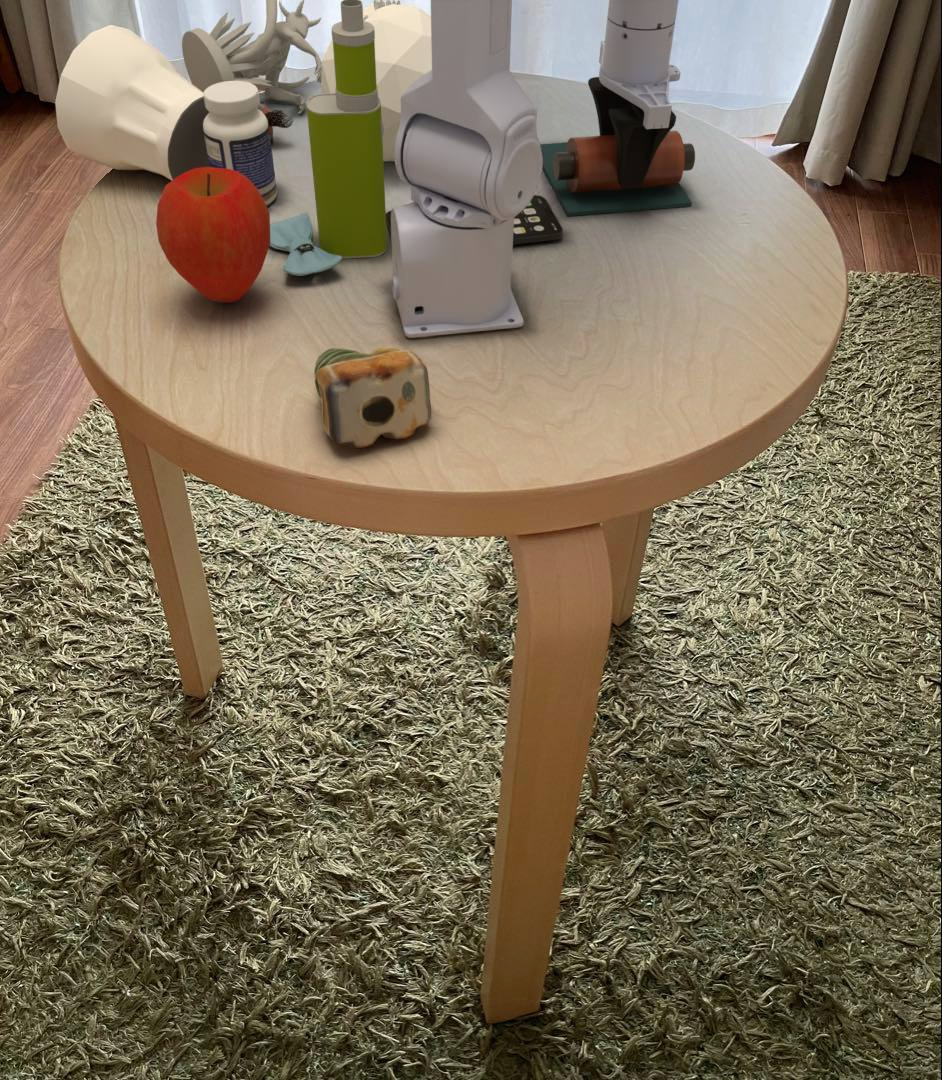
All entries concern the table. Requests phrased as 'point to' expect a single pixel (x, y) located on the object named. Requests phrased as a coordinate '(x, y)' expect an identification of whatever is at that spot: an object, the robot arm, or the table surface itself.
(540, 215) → the smartphone
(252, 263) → the apple
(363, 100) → the vape
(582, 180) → the rolling pin
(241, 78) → the demon figurine
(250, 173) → the pill bottle
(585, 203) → the pastry mat
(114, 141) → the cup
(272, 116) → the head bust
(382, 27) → the geodesic sphere
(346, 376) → the ornament
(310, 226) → the bow tie
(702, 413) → the table surface
